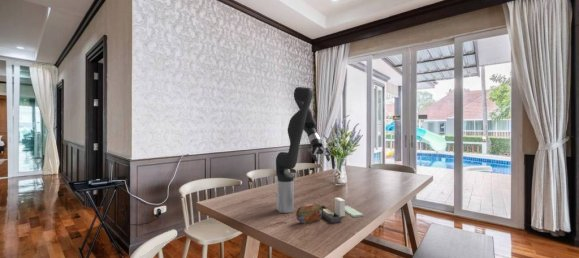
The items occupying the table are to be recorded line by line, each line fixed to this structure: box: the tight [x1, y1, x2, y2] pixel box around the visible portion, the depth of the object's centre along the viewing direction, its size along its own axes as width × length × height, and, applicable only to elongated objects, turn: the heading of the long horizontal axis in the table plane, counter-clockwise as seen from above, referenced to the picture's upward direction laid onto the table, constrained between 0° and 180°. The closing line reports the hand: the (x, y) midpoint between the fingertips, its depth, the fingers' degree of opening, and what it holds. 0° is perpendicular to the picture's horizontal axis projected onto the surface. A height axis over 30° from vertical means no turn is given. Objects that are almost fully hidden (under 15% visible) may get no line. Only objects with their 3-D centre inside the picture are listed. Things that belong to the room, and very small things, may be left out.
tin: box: [295, 203, 323, 225], centre depth 125 cm, size 15×3×8 cm, turn 118°
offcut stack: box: [323, 209, 335, 217], centre depth 132 cm, size 3×10×3 cm, turn 18°
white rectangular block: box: [334, 197, 346, 218], centre depth 134 cm, size 3×6×8 cm, turn 18°
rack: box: [321, 204, 342, 224], centre depth 132 cm, size 6×20×2 cm, turn 18°
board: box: [345, 205, 364, 218], centre depth 139 cm, size 6×16×1 cm, turn 18°
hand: (322, 160), depth 155 cm, fingers open, 8 cm apart
